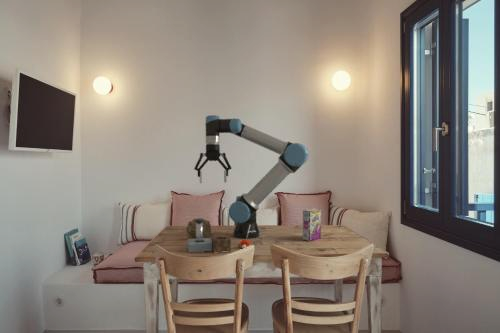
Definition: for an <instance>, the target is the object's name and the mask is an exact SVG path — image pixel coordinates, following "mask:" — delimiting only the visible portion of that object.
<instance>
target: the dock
mask: <svg viewBox="0 0 500 333" xmlns="http://www.w3.org/2000/svg"><path fill="white" fill-rule="evenodd" d="M186 241H187V243H186V244H187V246H186V247H187V251H188V253H189V254H191V253H190V252H196V253H204V252H203V251H210V252H213V250H212V239H210V237H207V238H203V242H198V243H196V238H189V239H187V240H186Z"/></svg>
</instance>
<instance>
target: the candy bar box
mask: <svg viewBox="0 0 500 333" xmlns="http://www.w3.org/2000/svg"><path fill="white" fill-rule="evenodd" d="M321 229H322V209H321V208H310V209H304V210H302V241H306V242H311V241H315V240H318V239H321V238H322V237H321V236H322V234H321V233H322V231H321Z"/></svg>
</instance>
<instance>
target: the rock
mask: <svg viewBox="0 0 500 333" xmlns="http://www.w3.org/2000/svg"><path fill="white" fill-rule="evenodd" d="M195 219H196V218H194V219H193V218H192V220H191V221H190V220H189V221H188V223H187V226H186V228H185V229H186V232H187V234H188V237H190V238H191V237H195V238H196V222H195ZM210 223H211V222H210V221H209V220H206V219H204V222H203V238H205V237H207V238H210V237H211V236H212V235H211V233H212V227H211V226H212V224H210Z"/></svg>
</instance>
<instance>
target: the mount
mask: <svg viewBox="0 0 500 333" xmlns="http://www.w3.org/2000/svg"><path fill="white" fill-rule="evenodd" d="M231 241H232V240H231V238H230V237H229V236H228V235H222V236H221V235H219V236H211V242H212V249H213V250H212V252H213V251H214V252H222V251H232V246H231V243H232V242H231ZM214 252H213V253H214Z"/></svg>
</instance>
